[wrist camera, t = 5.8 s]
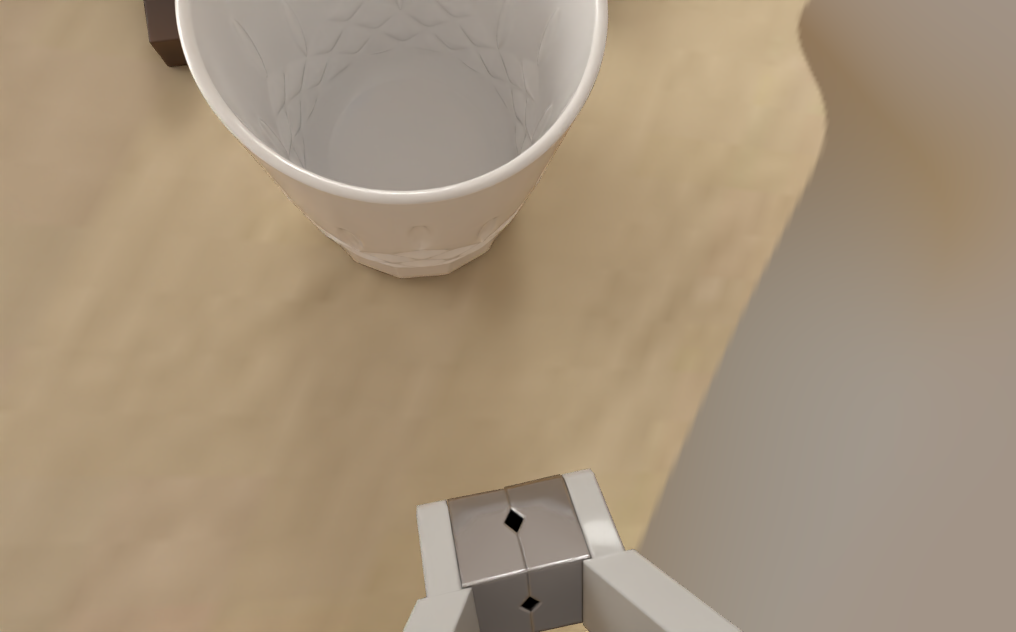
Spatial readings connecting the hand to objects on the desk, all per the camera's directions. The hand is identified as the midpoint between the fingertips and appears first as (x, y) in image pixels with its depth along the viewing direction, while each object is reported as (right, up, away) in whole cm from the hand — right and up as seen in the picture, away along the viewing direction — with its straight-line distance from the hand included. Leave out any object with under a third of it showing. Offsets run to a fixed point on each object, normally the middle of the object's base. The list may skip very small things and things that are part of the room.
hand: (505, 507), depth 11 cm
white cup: (-3, +8, +11) cm, 14 cm away
